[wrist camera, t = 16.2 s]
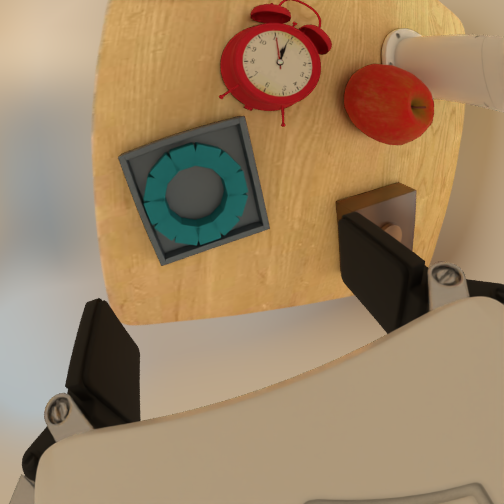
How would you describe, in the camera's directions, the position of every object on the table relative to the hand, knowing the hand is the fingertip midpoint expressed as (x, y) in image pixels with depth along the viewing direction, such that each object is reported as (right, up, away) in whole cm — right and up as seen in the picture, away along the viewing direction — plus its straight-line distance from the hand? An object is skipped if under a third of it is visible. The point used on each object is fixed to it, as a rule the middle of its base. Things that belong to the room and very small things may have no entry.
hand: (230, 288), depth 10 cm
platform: (+19, +5, +30) cm, 36 cm away
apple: (+16, +21, +21) cm, 33 cm away
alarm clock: (+3, +23, +15) cm, 28 cm away
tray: (-5, +8, +20) cm, 23 cm away
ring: (-5, +8, +20) cm, 22 cm away
